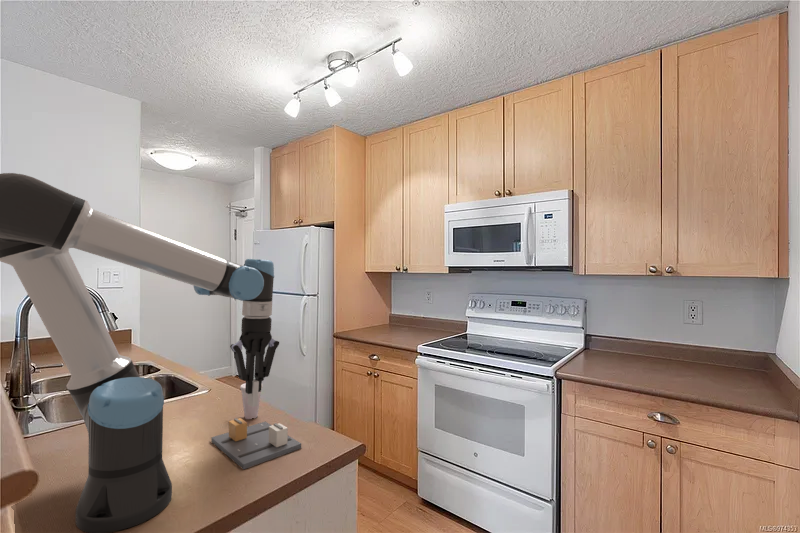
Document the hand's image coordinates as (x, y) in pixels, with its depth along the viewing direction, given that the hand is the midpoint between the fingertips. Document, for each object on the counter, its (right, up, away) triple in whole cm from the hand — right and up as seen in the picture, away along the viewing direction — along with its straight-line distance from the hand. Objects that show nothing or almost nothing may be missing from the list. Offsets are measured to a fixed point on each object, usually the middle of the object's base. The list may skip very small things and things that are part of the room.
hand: (252, 404), depth 106 cm
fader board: (+2, -9, -4) cm, 10 cm away
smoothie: (-6, -9, +14) cm, 18 cm away
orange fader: (-3, -8, -3) cm, 8 cm away
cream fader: (+8, -8, -5) cm, 13 cm away
